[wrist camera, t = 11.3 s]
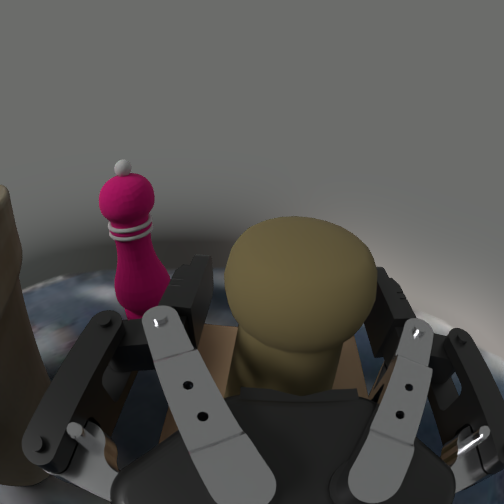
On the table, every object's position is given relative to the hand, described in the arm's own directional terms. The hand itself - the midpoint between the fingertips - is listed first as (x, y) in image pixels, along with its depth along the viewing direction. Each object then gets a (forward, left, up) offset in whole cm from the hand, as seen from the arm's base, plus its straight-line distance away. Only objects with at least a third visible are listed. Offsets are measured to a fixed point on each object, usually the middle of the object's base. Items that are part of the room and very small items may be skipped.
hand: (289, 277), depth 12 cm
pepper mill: (-18, +11, -18) cm, 27 cm away
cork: (0, -2, -8) cm, 8 cm away
